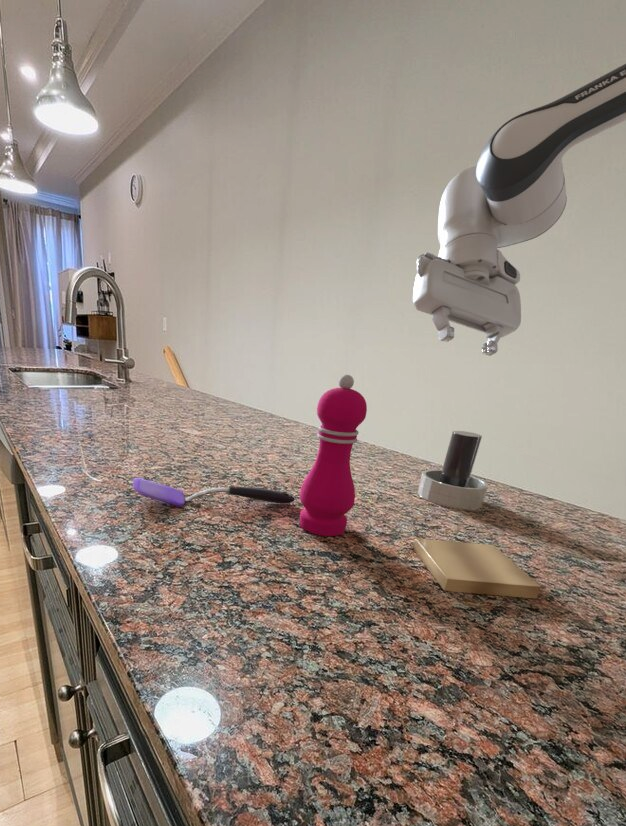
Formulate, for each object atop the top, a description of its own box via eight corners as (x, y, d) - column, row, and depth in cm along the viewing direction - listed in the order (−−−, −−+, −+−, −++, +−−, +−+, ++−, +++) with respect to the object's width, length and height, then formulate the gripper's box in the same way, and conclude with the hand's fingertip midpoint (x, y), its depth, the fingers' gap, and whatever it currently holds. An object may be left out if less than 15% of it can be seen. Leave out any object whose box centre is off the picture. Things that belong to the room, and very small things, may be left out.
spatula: (288, 496, 71) (290, 481, 70) (299, 512, 65) (301, 496, 64) (134, 491, 67) (134, 475, 66) (130, 508, 61) (130, 491, 60)
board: (490, 555, 57) (494, 544, 56) (536, 599, 48) (541, 586, 47) (412, 548, 57) (415, 538, 56) (444, 590, 48) (447, 578, 47)
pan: (464, 493, 81) (470, 472, 79) (492, 515, 71) (500, 491, 70) (408, 488, 81) (413, 467, 79) (429, 509, 71) (435, 485, 70)
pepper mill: (310, 512, 65) (332, 370, 58) (356, 527, 62) (387, 377, 54) (285, 526, 60) (306, 371, 52) (334, 543, 56) (365, 379, 49)
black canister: (456, 494, 78) (474, 432, 74) (467, 503, 74) (487, 437, 70) (431, 492, 78) (447, 429, 74) (441, 501, 74) (459, 435, 70)
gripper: (433, 235, 67) (433, 320, 65) (527, 275, 75) (530, 352, 73) (403, 261, 73) (403, 340, 71) (493, 296, 81) (496, 368, 79)
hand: (468, 346), depth 72 cm, fingers open, 8 cm apart
